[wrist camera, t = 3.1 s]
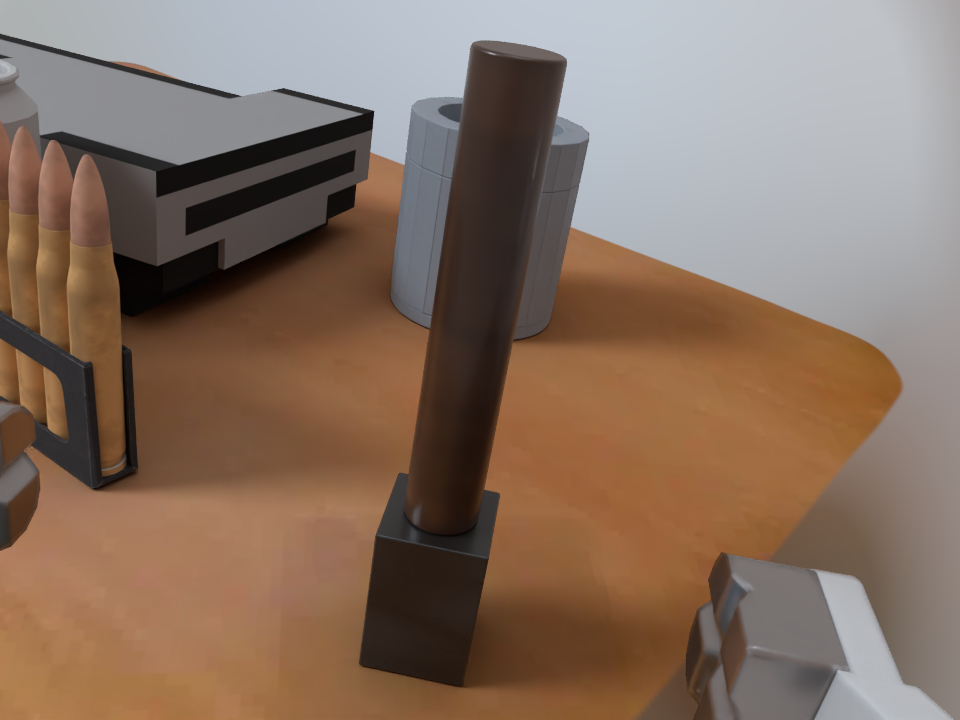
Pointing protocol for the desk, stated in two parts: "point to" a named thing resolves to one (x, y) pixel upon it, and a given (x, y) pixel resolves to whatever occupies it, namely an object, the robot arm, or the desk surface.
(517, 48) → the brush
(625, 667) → the desk surface
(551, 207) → the hollow cylinder
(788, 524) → the desk surface
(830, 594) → the robot arm
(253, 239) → the game console
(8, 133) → the can
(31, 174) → the ammunition clip
